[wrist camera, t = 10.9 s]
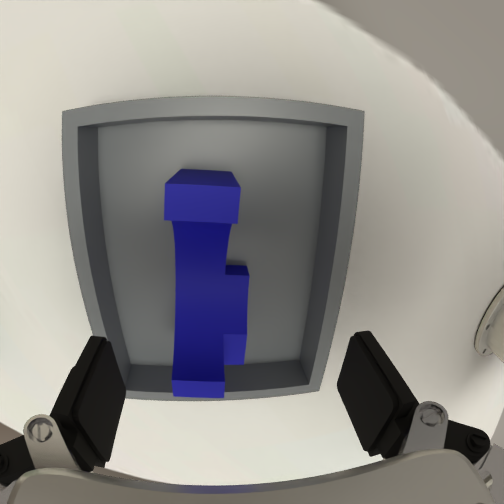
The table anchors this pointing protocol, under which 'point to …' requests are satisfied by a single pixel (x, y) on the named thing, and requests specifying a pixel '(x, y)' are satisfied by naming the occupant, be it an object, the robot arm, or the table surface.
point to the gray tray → (241, 235)
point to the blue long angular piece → (205, 281)
